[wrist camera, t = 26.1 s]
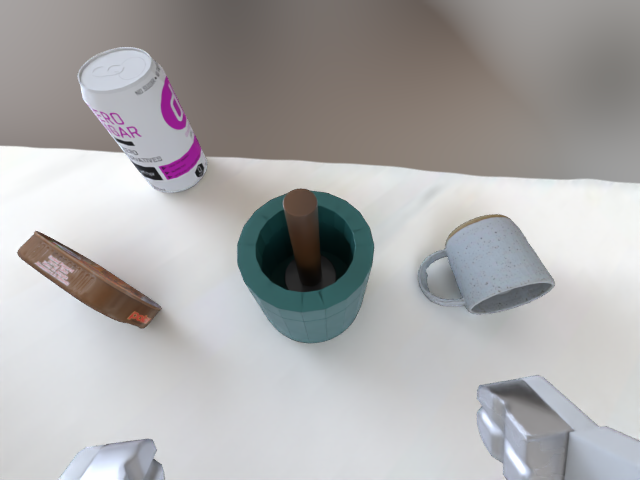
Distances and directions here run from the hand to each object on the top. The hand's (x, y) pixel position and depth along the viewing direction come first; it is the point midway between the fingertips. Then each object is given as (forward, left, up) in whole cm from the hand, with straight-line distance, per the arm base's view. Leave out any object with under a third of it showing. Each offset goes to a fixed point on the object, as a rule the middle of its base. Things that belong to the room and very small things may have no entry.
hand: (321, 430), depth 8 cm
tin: (-25, +8, -24) cm, 36 cm away
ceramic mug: (+13, +16, -24) cm, 31 cm away
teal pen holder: (-4, +12, -24) cm, 27 cm away
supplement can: (-25, +26, -24) cm, 43 cm away
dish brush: (-4, +12, -23) cm, 26 cm away
